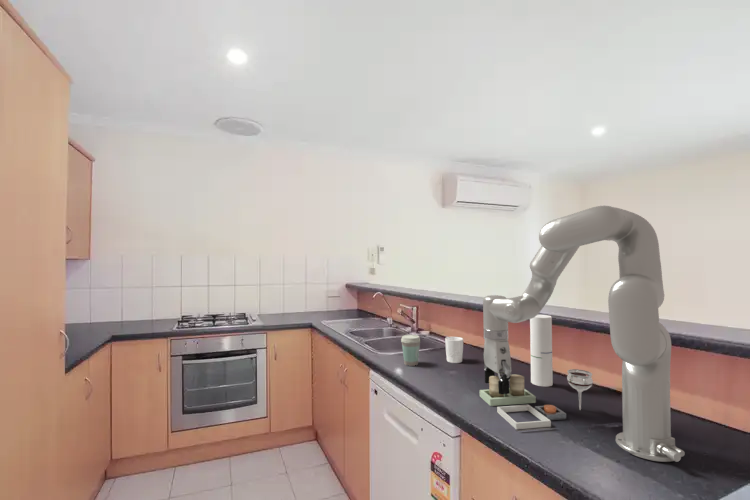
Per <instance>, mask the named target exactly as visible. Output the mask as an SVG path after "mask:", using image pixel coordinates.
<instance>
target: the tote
mask: <svg viewBox="0 0 750 500" xmlns="http://www.w3.org/2000/svg"><path fill="white" fill-rule="evenodd" d="M496 410H497V411H496V412H497V413H498V414H499V415H500V416H501V417H502V418H503V420H505V421H506V422H507V423H509V424H510V426H511V427H513V428H514V429H515V432H524V431H537V430H549V429H551V427H552V420H549V419H548V418H546V417H545V416H544V415H542V414H541V413H539V412H538V411H537V410H535V407H534V406H531V405H530V404H515V405H502V406H496ZM526 411H528V412H530V413H531V414H532V415H533V416H534V417H536V418H537V419H538V420H533V421H532V420H531V421H520V422H519V421H518V422H517V421H516V420H514V419H513V418H512V417H511V416H510V415H509V414H507V413H514V412H526Z"/></svg>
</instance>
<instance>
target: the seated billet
mask: <svg viewBox="0 0 750 500" xmlns="http://www.w3.org/2000/svg"><path fill="white" fill-rule="evenodd" d="M510 376H511V377H510V381H509V388H510V394H511V395H512V396H525V394H524V389H525V376H524V375H520V374H511V375H510Z"/></svg>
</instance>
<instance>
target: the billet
mask: <svg viewBox="0 0 750 500" xmlns="http://www.w3.org/2000/svg"><path fill="white" fill-rule="evenodd" d="M498 381H500V379H499V376H498V375H495V376H490V377H489V383H488V386H489V387H488V388H489V396H490V397H491V398H498V397H504V394H499V387H498Z"/></svg>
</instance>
